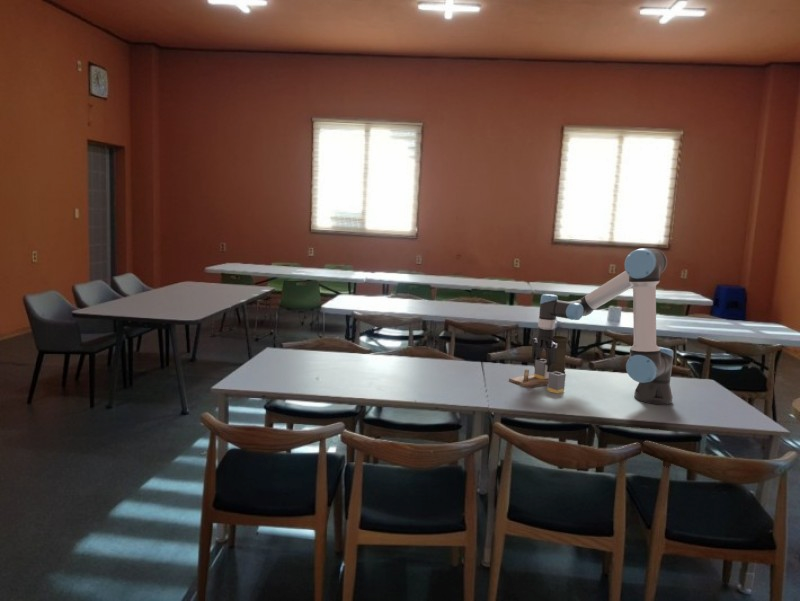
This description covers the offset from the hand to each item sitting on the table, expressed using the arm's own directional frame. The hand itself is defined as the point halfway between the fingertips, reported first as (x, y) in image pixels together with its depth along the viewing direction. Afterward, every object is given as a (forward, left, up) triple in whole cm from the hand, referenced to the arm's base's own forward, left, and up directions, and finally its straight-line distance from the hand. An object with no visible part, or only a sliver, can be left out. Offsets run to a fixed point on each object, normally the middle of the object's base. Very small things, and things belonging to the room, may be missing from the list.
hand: (541, 376), depth 277 cm
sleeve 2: (-15, +9, -2) cm, 17 cm away
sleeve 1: (0, 0, 0) cm, 0 cm away
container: (+5, -16, -2) cm, 17 cm away
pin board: (0, +6, -2) cm, 6 cm away
